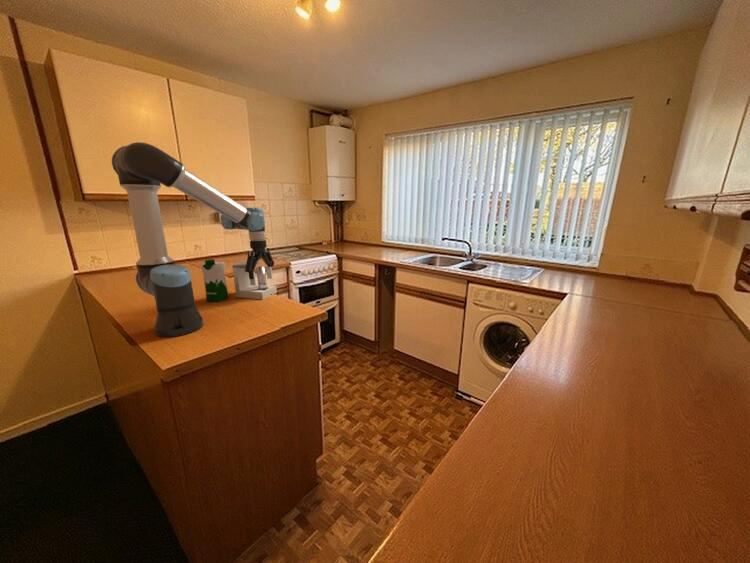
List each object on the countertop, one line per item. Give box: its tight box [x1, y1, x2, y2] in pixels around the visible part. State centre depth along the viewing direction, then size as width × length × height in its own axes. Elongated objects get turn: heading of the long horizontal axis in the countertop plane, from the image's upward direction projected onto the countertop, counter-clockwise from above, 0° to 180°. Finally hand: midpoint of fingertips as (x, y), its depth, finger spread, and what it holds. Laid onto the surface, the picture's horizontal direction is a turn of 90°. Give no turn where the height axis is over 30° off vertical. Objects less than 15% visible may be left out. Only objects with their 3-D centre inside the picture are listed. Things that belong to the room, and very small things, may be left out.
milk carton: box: [199, 258, 229, 303], centre depth 142 cm, size 9×9×20 cm
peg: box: [255, 265, 268, 290], centre depth 150 cm, size 4×4×15 cm
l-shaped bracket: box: [232, 261, 278, 300], centre depth 151 cm, size 12×16×16 cm
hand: (262, 282), depth 150 cm, fingers open, 13 cm apart
